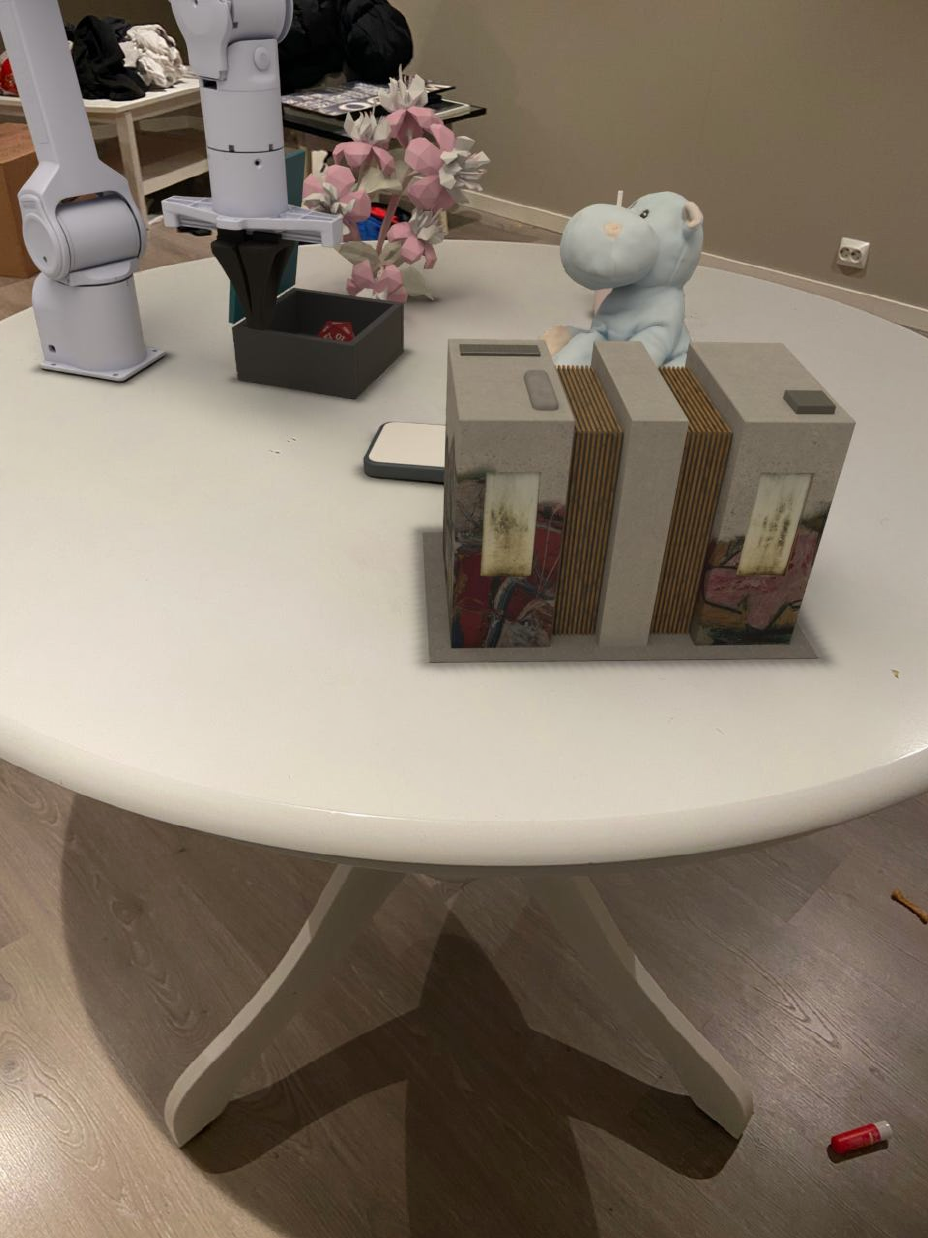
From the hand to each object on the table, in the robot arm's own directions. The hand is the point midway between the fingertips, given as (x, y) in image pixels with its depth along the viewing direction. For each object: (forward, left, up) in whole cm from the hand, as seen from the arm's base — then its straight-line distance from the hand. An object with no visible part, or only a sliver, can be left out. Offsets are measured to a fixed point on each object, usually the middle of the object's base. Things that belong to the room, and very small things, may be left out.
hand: (261, 325), depth 79 cm
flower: (-2, +35, -10) cm, 36 cm away
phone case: (+18, +1, -10) cm, 20 cm away
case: (-2, +17, -10) cm, 20 cm away
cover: (-7, +17, +2) cm, 18 cm away
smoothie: (+23, +44, -10) cm, 50 cm away
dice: (-1, +17, -9) cm, 19 cm away
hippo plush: (+29, +23, -10) cm, 38 cm away
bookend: (+33, -14, -10) cm, 37 cm away
